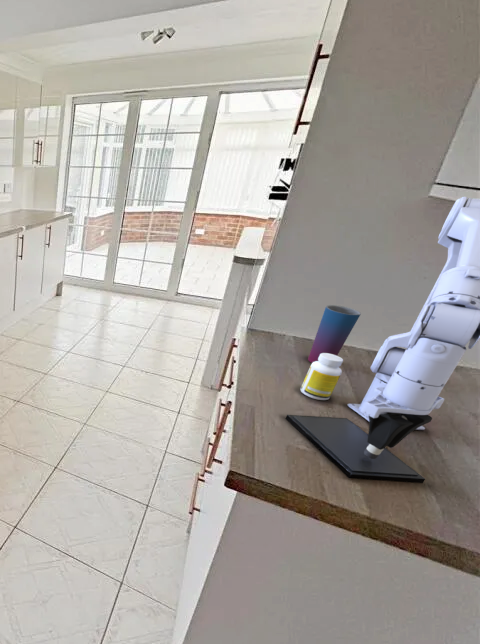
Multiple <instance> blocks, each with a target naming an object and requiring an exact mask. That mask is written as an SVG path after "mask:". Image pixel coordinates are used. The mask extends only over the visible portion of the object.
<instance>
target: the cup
mask: <svg viewBox="0 0 480 644" xmlns="http://www.w3.org/2000/svg"><path fill="white" fill-rule="evenodd" d="M361 314H362V313H361V312H360V311H359V310H357V309H354V308H351V307H348V306H343V305H337V304H328V305H326V306H325V308H324V311H323V314H322V317H321V320H320V323H319V325H318V328H317V331H316V334H315V337H314V340H313V343H312V345H311V349H310V352H309V354H308V358H307V361H308V362H310V363H311V364H312V363H313V362H315V361H318V358H319V356H320V354H321V353H329V354H333V355H336V356H338V355H339V354H340V351H341V350H342V348H343V346H344V345H345V343H346V341H347V339H348V338H349V335H351V332H352V331H353V328H354V327H355V325H356V324H357V322H358V320H359V318H360V317H361Z"/></svg>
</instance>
